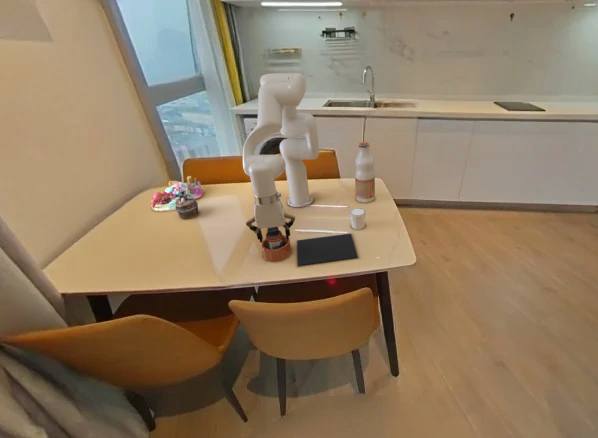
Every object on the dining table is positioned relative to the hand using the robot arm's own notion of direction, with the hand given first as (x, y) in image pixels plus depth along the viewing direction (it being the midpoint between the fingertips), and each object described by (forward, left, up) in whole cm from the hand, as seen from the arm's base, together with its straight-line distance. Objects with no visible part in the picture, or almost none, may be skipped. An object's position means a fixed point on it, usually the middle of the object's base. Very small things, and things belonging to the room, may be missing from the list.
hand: (274, 238), depth 118 cm
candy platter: (-59, -52, -7) cm, 79 cm away
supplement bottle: (0, 0, -7) cm, 7 cm away
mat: (+2, +19, -7) cm, 20 cm away
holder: (0, 0, -7) cm, 7 cm away
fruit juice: (-36, +42, -7) cm, 55 cm away
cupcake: (-40, -42, -7) cm, 59 cm away
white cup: (-12, +34, -7) cm, 36 cm away
